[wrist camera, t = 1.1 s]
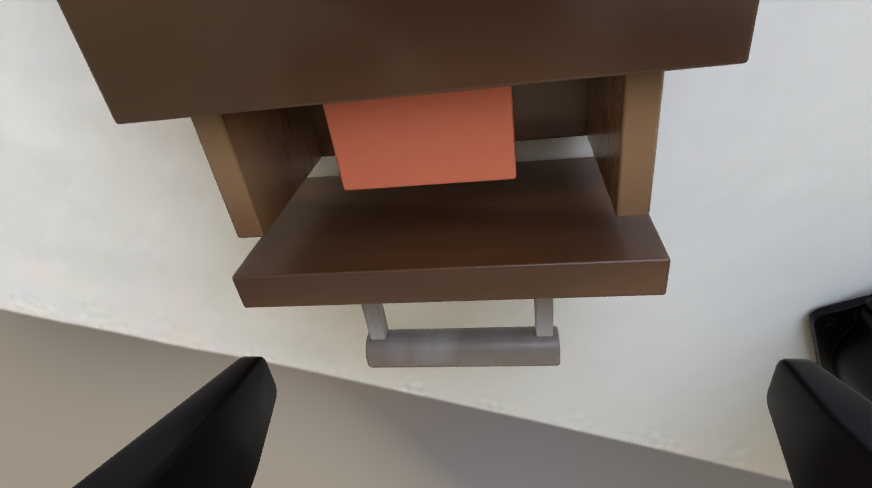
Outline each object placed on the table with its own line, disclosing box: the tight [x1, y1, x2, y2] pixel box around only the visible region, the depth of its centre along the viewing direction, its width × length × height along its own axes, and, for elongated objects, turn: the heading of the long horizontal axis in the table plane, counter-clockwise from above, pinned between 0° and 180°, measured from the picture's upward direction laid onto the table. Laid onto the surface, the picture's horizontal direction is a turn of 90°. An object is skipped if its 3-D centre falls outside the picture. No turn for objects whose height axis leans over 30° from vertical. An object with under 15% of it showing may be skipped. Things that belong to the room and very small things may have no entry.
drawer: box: [191, 71, 670, 368], centre depth 15 cm, size 17×12×7 cm
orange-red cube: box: [323, 86, 516, 190], centre depth 14 cm, size 5×5×5 cm
